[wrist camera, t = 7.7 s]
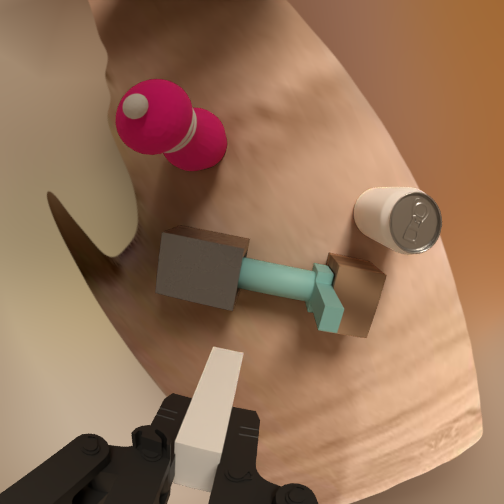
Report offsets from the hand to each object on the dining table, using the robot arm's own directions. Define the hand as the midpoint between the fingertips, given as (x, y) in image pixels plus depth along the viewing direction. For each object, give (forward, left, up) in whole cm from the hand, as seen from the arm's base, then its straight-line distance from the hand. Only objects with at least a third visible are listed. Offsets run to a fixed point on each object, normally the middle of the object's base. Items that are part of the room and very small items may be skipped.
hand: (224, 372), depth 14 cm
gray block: (+1, -6, -25) cm, 25 cm away
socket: (+1, +11, -25) cm, 27 cm away
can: (-9, +14, -25) cm, 30 cm away
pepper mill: (-13, -9, -25) cm, 30 cm away
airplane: (+1, +5, -23) cm, 24 cm away
